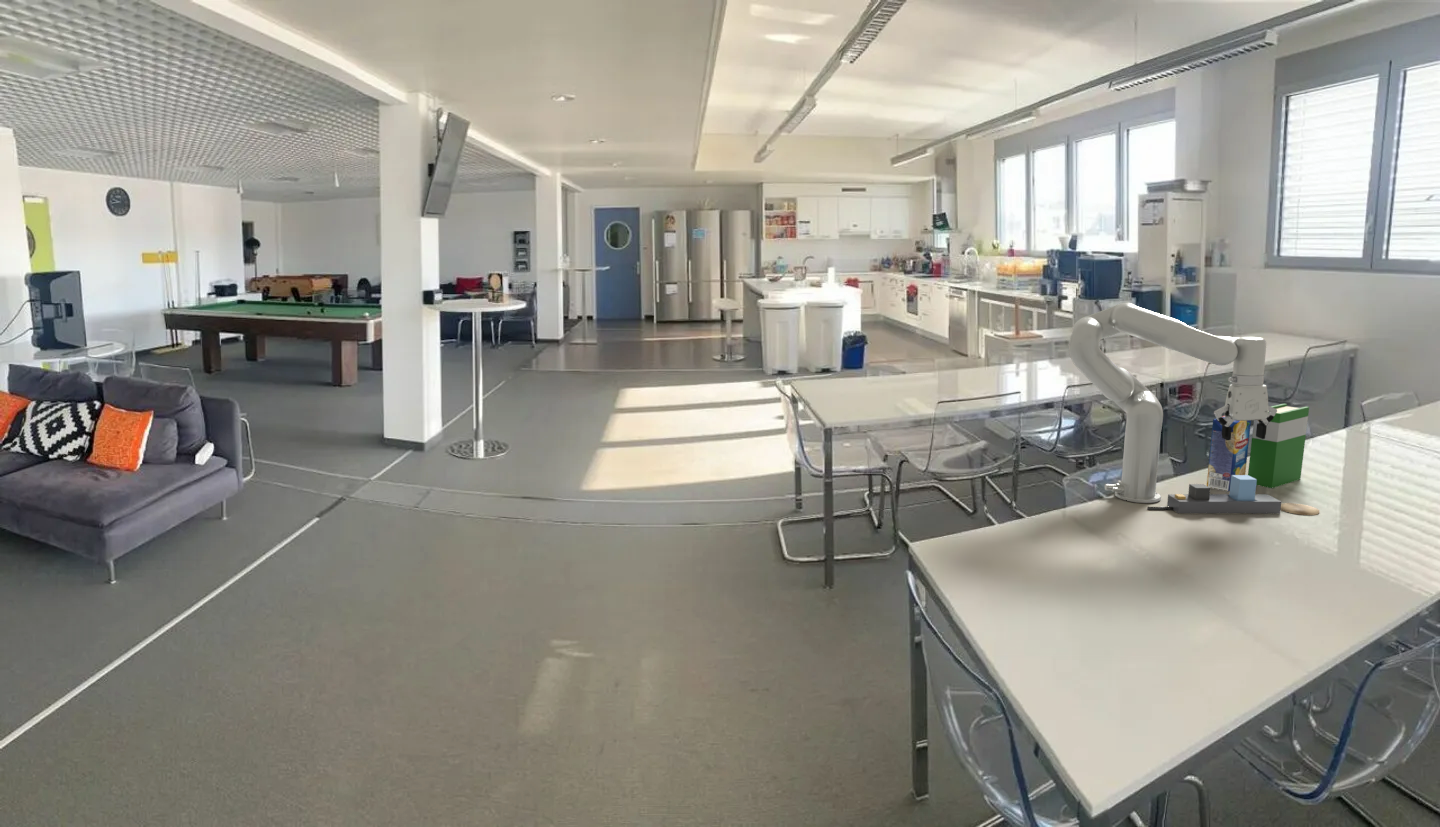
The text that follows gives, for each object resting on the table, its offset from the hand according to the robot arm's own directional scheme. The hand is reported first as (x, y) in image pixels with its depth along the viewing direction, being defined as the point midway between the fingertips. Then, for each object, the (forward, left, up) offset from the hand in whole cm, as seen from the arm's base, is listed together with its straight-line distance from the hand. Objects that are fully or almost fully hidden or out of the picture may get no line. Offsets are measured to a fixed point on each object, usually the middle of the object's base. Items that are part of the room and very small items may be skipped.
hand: (1243, 438), depth 238 cm
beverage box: (+7, +20, -21) cm, 30 cm away
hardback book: (+25, +26, -21) cm, 42 cm away
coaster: (+15, -4, -20) cm, 26 cm away
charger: (-1, -4, -19) cm, 19 cm away
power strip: (-9, -4, -20) cm, 23 cm away
